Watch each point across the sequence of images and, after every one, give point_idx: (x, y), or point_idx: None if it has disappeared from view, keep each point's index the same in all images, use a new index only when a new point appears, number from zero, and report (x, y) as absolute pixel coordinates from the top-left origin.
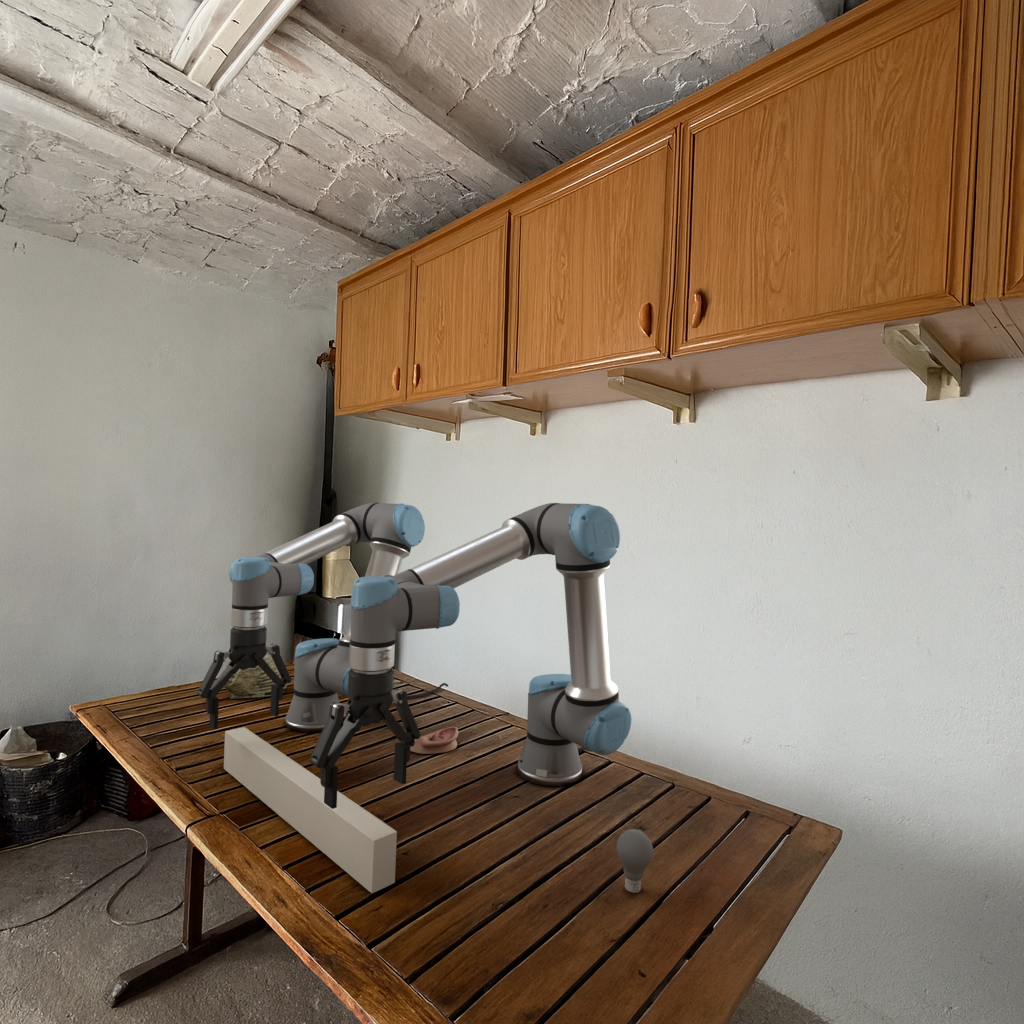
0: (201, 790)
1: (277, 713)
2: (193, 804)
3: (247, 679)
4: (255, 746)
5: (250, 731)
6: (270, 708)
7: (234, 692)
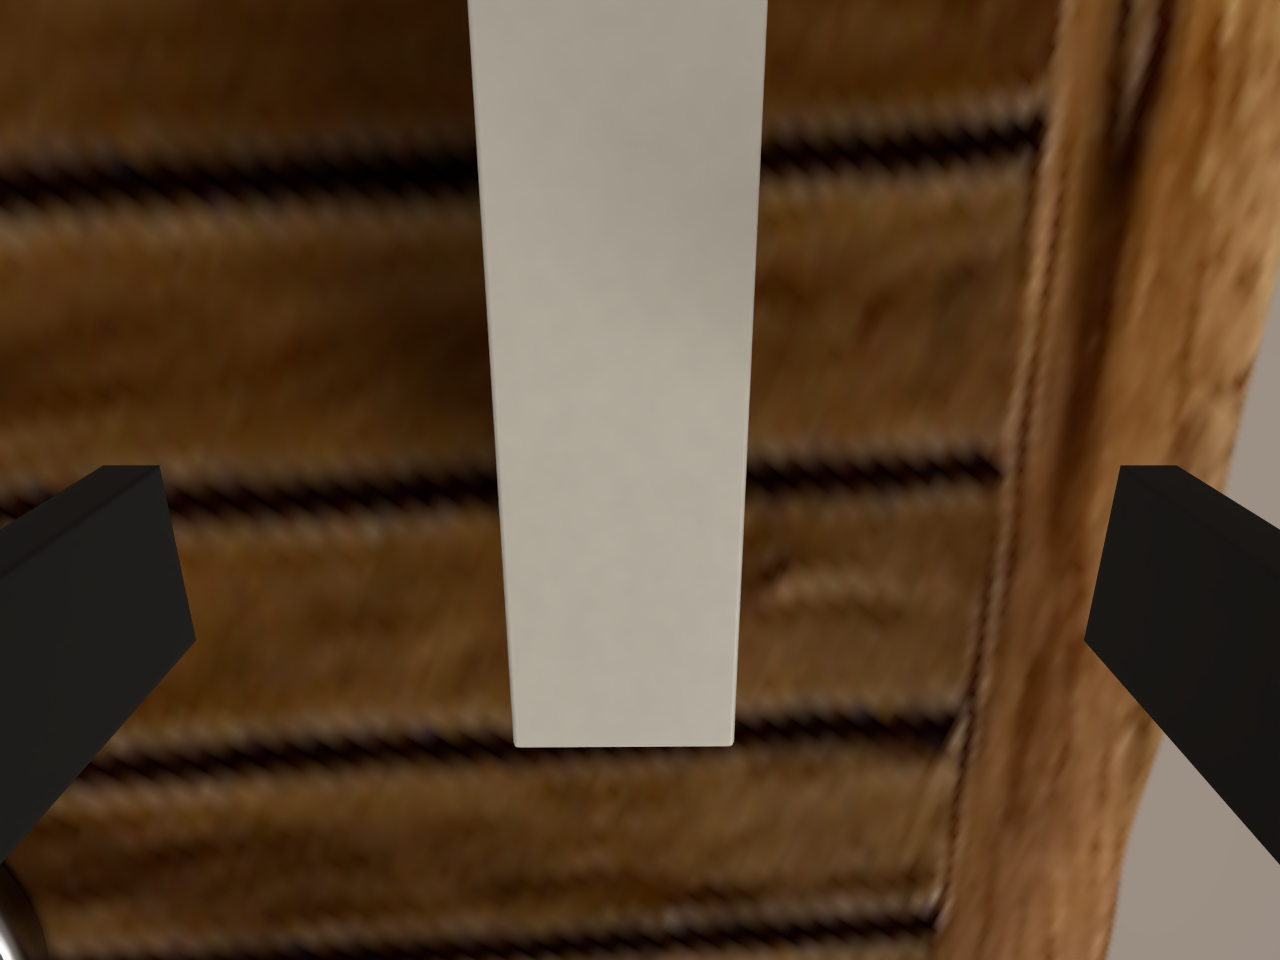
0: (994, 290)
1: (96, 485)
2: (1164, 71)
3: None
4: (660, 45)
5: (510, 583)
6: (152, 685)
7: None
